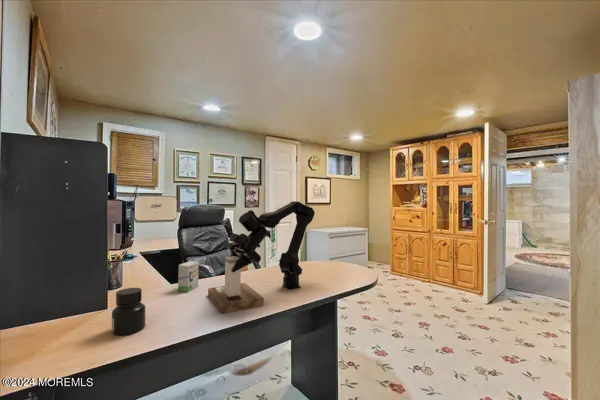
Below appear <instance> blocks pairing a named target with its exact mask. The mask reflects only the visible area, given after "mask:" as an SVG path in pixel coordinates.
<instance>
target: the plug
mask: <svg viewBox="0 0 600 400" xmlns="http://www.w3.org/2000/svg"><path fill="white" fill-rule="evenodd" d="M238 259H239V257H237V256H233V257H231V256H226V257H224V261H225V262H224V286H225V294H226V295H227V296H229V297H231V296H236V295H240V285H241V283H242V282H241V279H242V275H241V274H242V271H241V270H242V268H241V269H239V270H237V271H235V272H232V271H231V270H232V268H233V267H234V265H235V264H236V262H237V261H238Z"/></svg>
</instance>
